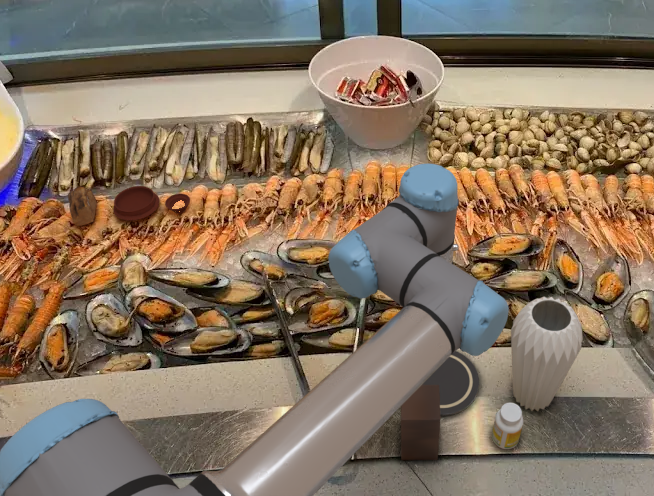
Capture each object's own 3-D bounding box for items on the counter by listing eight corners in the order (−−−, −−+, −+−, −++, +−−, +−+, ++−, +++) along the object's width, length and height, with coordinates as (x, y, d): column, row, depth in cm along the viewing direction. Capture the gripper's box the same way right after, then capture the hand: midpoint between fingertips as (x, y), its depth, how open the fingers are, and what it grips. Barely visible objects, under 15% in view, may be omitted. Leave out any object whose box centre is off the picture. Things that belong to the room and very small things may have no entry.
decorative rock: (99, 229, 172) (85, 198, 164) (74, 234, 170) (59, 203, 163) (100, 199, 180) (87, 169, 173) (76, 204, 178) (62, 173, 171)
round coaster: (422, 428, 132) (422, 425, 131) (391, 365, 142) (390, 363, 142) (492, 398, 137) (493, 396, 136) (457, 340, 147) (457, 337, 147)
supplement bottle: (488, 444, 130) (492, 418, 123) (496, 420, 133) (501, 395, 127) (514, 454, 128) (520, 429, 122) (522, 430, 132) (528, 404, 125)
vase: (526, 355, 145) (544, 275, 127) (577, 394, 138) (603, 315, 120) (487, 393, 138) (499, 314, 120) (538, 436, 131) (559, 359, 113)
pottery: (122, 196, 181) (117, 184, 178) (196, 195, 182) (193, 182, 179) (109, 226, 172) (104, 214, 169) (187, 224, 173) (183, 212, 170)
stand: (401, 460, 127) (400, 419, 117) (401, 426, 132) (400, 384, 122) (437, 459, 127) (440, 419, 117) (436, 426, 132) (439, 384, 122)
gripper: (450, 309, 88) (443, 402, 104) (456, 219, 101) (449, 314, 117) (393, 304, 89) (395, 398, 105) (407, 215, 101) (407, 311, 117)
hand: (424, 353), depth 111 cm, fingers closed on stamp, 4 cm apart
